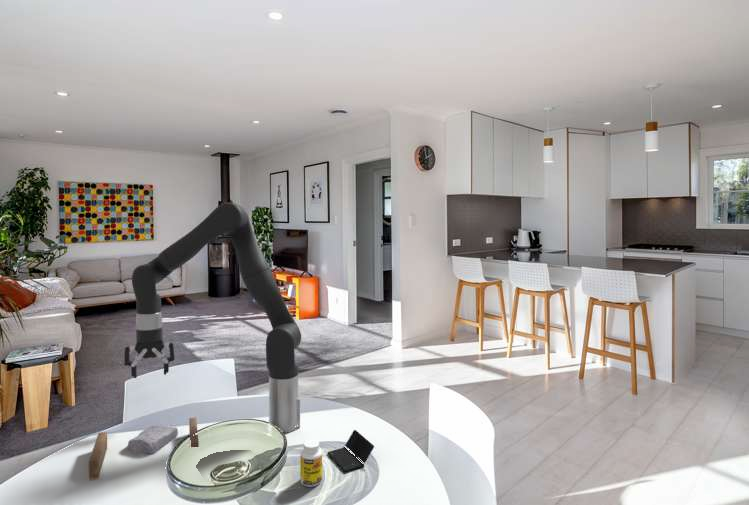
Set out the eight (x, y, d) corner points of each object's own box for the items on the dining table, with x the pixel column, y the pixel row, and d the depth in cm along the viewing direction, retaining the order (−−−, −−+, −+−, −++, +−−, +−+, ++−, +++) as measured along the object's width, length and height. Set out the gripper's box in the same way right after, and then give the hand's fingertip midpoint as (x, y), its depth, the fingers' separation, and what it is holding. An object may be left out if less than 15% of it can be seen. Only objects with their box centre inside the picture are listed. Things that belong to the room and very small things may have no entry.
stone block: (125, 458, 127) (155, 455, 125) (122, 441, 127) (152, 438, 125) (153, 439, 139) (181, 436, 137) (150, 424, 139) (178, 421, 137)
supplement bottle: (301, 489, 111) (301, 450, 110) (299, 476, 117) (299, 439, 116) (323, 486, 112) (323, 447, 112) (320, 474, 118) (321, 436, 117)
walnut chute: (196, 432, 139) (196, 417, 138) (198, 458, 124) (198, 441, 124) (99, 449, 128) (98, 432, 128) (89, 480, 113) (88, 461, 113)
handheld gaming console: (321, 452, 126) (341, 420, 128) (336, 459, 130) (355, 428, 133) (345, 476, 117) (366, 442, 120) (360, 482, 122) (380, 449, 124)
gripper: (173, 321, 148) (174, 369, 149) (125, 325, 142) (126, 374, 143) (173, 327, 141) (174, 376, 142) (122, 331, 135) (123, 382, 137)
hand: (150, 375), depth 143 cm, fingers open, 8 cm apart
